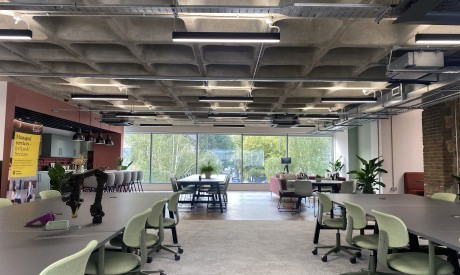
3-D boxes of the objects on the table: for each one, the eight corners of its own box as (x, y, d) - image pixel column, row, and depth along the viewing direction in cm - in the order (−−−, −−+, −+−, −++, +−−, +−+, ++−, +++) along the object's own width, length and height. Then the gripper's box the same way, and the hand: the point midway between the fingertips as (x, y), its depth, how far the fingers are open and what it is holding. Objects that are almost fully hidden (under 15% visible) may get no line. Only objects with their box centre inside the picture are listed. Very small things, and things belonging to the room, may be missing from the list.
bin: (68, 227, 234) (68, 220, 234) (67, 230, 222) (67, 223, 222) (48, 228, 229) (48, 221, 229) (45, 232, 217) (45, 224, 217)
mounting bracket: (28, 234, 234) (53, 223, 239) (23, 224, 234) (48, 213, 239) (33, 232, 243) (57, 220, 248) (28, 222, 243) (52, 211, 248)
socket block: (80, 228, 228) (80, 224, 228) (80, 231, 220) (80, 226, 221) (68, 229, 225) (68, 225, 225) (67, 232, 217) (67, 227, 218)
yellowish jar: (72, 217, 225) (73, 204, 225) (78, 217, 225) (78, 204, 226) (70, 218, 221) (71, 205, 222) (76, 218, 221) (76, 205, 222)
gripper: (68, 190, 233) (67, 212, 232) (58, 193, 214) (56, 216, 213) (84, 190, 234) (83, 212, 233) (75, 192, 216) (74, 216, 214)
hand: (74, 214), depth 223 cm, fingers closed on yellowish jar, 4 cm apart
